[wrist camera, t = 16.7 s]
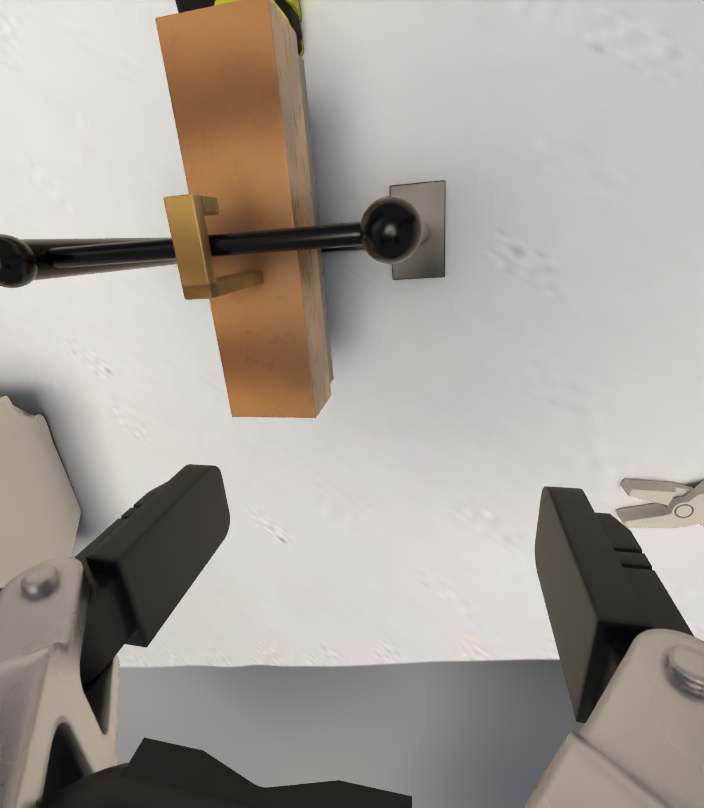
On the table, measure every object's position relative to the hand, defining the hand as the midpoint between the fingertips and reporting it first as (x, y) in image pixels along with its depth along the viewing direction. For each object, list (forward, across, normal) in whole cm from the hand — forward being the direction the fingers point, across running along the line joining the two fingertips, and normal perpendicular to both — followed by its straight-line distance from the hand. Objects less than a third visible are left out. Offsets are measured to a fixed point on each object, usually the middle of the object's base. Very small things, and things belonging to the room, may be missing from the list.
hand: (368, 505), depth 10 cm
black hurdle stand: (+23, +8, -6) cm, 25 cm away
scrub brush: (+17, +8, -6) cm, 20 cm away
